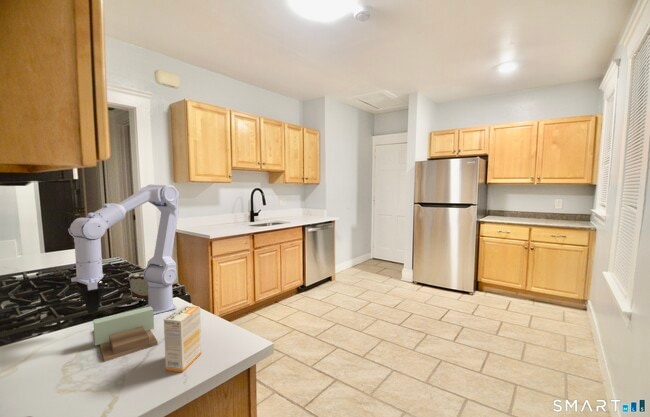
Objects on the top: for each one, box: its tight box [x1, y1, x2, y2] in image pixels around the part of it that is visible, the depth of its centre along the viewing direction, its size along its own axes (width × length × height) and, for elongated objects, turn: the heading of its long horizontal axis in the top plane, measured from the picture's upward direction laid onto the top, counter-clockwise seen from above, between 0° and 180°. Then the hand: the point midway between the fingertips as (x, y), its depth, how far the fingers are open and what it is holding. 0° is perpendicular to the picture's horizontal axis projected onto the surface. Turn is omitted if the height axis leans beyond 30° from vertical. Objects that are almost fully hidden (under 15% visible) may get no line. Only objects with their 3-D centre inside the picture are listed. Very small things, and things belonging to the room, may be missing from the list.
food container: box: [127, 271, 149, 301], centre depth 114 cm, size 12×6×10 cm, turn 84°
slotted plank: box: [99, 326, 158, 362], centre depth 86 cm, size 20×12×3 cm, turn 42°
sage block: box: [93, 306, 155, 346], centre depth 86 cm, size 14×3×6 cm, turn 132°
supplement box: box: [163, 305, 202, 373], centre depth 75 cm, size 8×5×13 cm, turn 171°
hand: (91, 307), depth 84 cm, fingers open, 7 cm apart
